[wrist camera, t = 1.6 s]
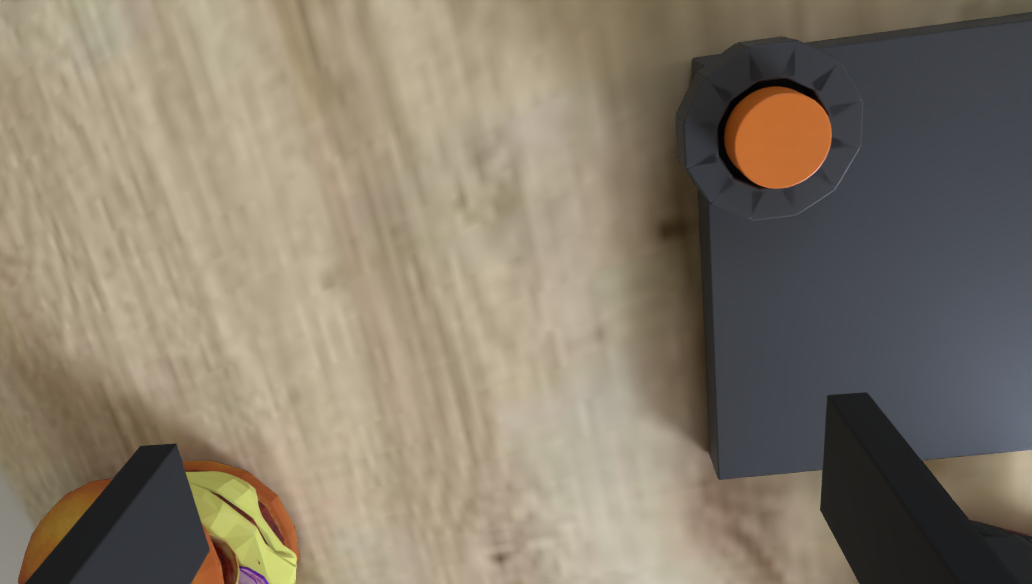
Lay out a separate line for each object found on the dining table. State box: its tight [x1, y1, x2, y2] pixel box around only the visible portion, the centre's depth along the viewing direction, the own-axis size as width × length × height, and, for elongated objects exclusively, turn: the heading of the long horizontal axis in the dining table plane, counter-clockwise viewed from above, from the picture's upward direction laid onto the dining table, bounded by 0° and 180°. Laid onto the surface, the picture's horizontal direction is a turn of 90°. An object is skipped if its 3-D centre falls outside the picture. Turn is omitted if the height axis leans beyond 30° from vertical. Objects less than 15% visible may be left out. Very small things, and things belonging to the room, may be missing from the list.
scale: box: [676, 12, 1032, 480], centre depth 30 cm, size 19×15×4 cm
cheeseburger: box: [18, 460, 300, 584], centre depth 34 cm, size 10×11×10 cm
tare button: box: [724, 86, 832, 189], centre depth 26 cm, size 3×3×2 cm
